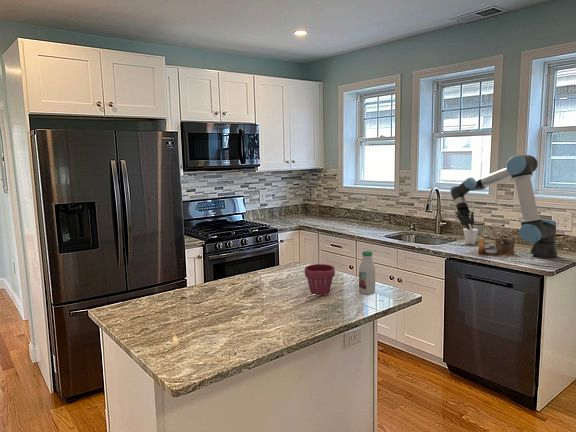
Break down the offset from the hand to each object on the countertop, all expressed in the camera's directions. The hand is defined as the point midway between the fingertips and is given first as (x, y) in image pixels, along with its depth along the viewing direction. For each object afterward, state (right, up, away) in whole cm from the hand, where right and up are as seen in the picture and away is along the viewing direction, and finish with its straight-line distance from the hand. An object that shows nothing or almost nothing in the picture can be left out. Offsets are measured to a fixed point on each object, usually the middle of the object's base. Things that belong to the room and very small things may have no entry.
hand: (471, 233), depth 293 cm
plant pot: (-107, -26, -81) cm, 137 cm away
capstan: (+7, -13, -10) cm, 17 cm away
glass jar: (+18, -8, +34) cm, 39 cm away
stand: (+8, -14, -9) cm, 18 cm away
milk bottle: (-84, -26, -81) cm, 120 cm away
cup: (+9, -9, +24) cm, 27 cm away
